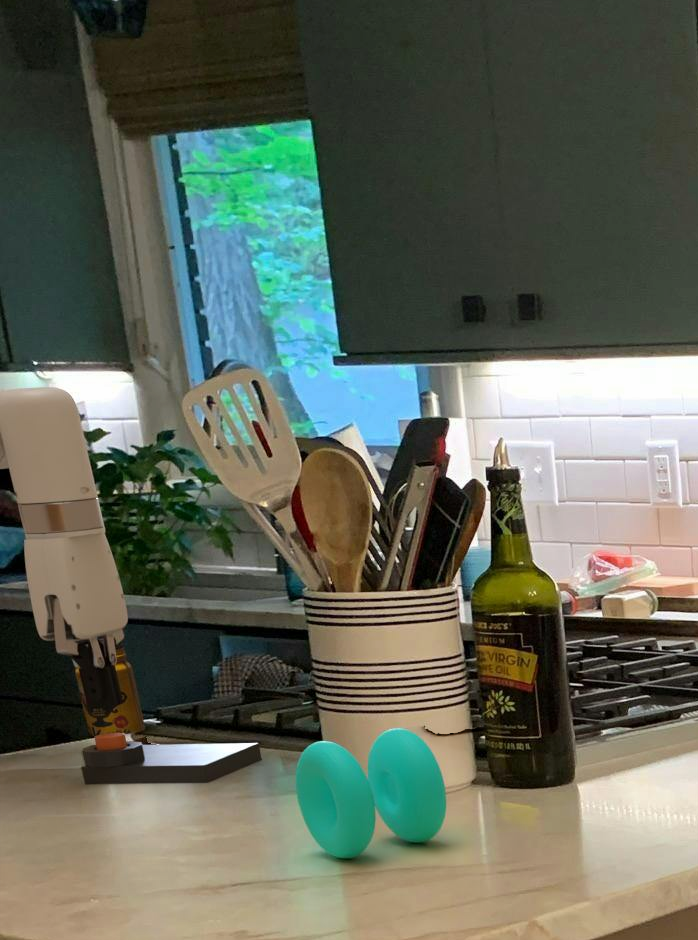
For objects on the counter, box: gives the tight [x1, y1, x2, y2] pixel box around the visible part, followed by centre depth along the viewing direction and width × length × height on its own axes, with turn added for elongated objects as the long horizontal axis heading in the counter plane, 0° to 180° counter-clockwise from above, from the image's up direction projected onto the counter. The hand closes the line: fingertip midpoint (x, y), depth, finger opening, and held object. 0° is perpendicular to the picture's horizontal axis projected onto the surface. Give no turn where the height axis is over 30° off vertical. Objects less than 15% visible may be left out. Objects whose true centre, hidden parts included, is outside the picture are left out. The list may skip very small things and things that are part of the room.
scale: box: [80, 740, 262, 785], centre depth 207 cm, size 14×12×4 cm
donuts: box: [295, 727, 447, 859], centre depth 168 cm, size 10×10×10 cm
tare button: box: [93, 733, 127, 750], centre depth 204 cm, size 3×3×2 cm
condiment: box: [74, 640, 158, 745], centre depth 221 cm, size 7×8×12 cm
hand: (105, 705), depth 202 cm, fingers closed
